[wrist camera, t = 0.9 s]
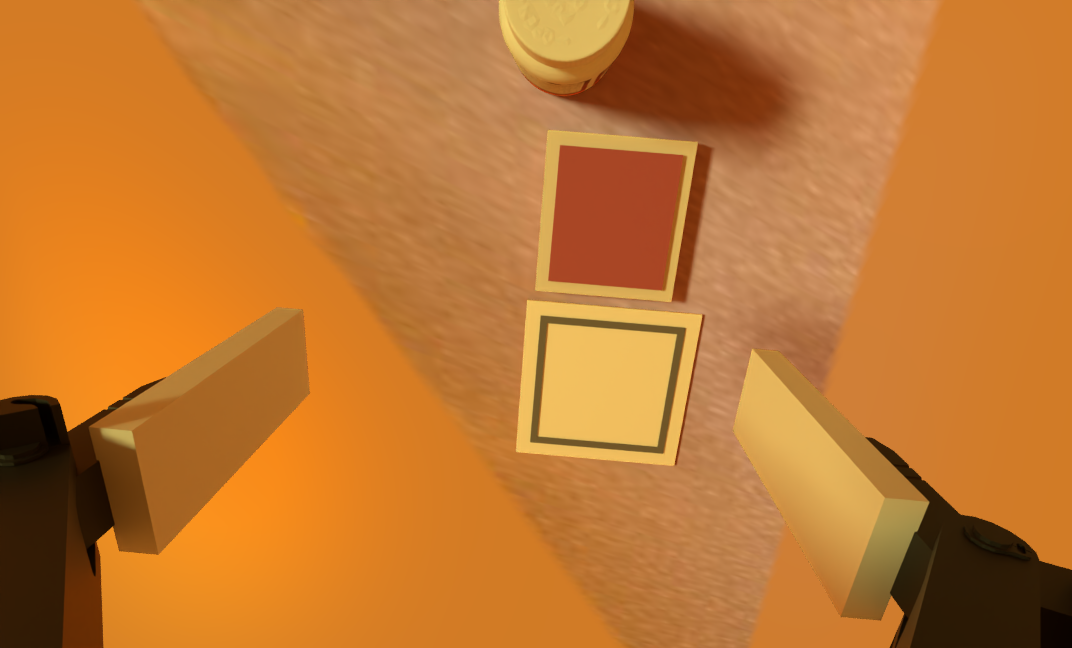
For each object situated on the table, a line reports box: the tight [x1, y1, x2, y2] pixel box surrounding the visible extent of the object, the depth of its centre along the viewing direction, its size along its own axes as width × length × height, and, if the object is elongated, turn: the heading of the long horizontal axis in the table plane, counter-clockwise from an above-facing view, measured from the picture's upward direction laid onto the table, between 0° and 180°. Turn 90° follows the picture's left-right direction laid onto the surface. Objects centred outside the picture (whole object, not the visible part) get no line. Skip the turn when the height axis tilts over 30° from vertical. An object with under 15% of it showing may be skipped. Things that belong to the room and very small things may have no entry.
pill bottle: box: [499, 0, 634, 96], centre depth 26 cm, size 6×6×11 cm
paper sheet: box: [516, 299, 702, 466], centre depth 38 cm, size 12×12×1 cm
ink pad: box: [535, 130, 698, 302], centre depth 34 cm, size 10×9×2 cm
